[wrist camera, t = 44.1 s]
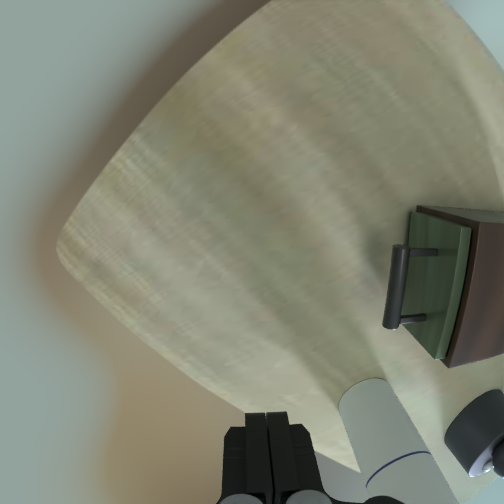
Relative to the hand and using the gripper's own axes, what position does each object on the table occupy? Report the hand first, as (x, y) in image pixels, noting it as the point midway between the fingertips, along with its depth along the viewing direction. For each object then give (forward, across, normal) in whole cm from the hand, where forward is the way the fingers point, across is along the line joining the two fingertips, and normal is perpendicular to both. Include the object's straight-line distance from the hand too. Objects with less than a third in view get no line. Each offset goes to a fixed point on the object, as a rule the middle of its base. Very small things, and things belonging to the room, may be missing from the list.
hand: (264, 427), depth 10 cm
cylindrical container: (+20, -14, +18) cm, 30 cm away
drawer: (+19, -20, 0) cm, 27 cm away
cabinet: (+20, -24, 0) cm, 31 cm away
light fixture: (+20, -39, +29) cm, 52 cm away
